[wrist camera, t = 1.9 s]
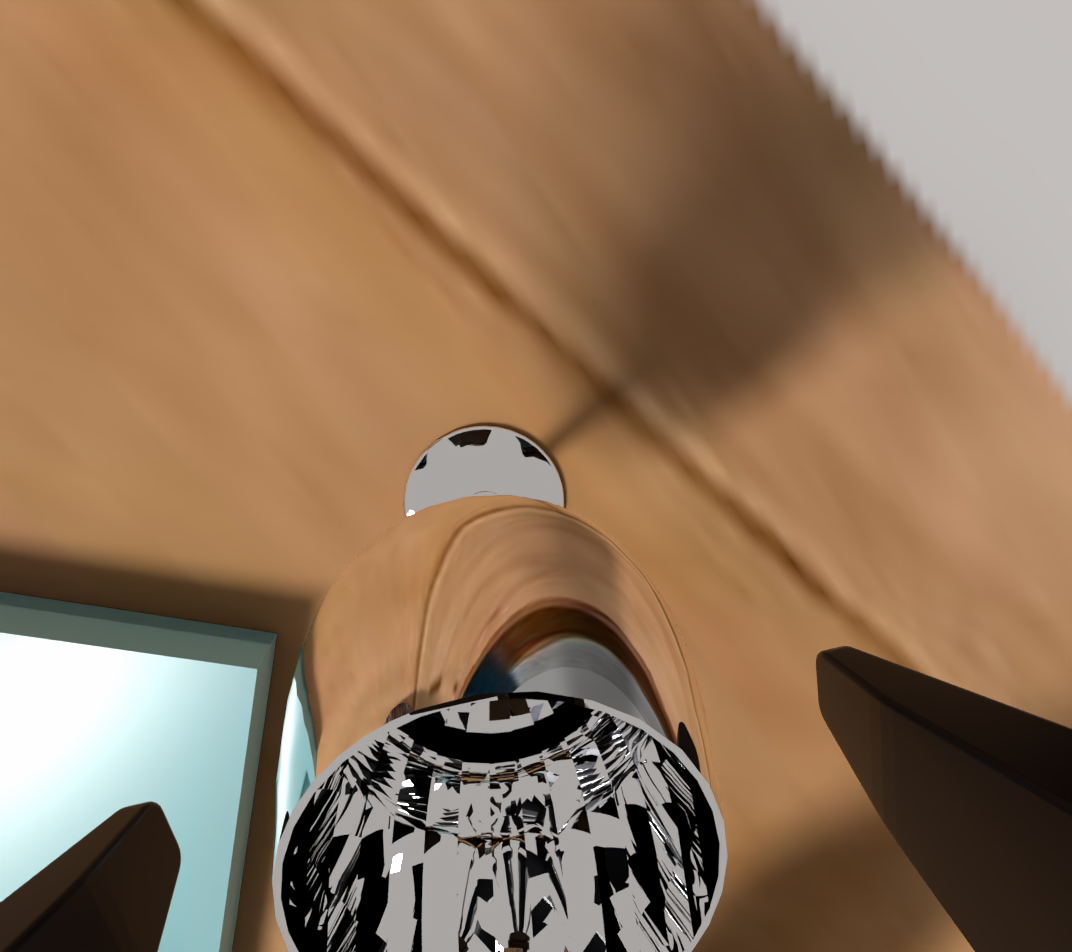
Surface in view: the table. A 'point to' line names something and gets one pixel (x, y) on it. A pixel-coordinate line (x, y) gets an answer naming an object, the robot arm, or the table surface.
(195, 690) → the tray
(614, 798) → the wineglass
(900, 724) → the robot arm
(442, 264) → the table surface
